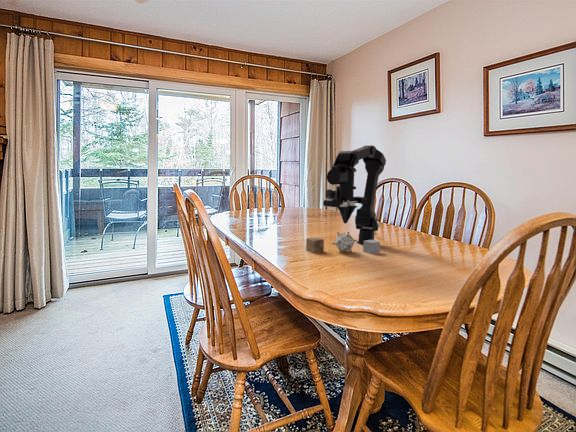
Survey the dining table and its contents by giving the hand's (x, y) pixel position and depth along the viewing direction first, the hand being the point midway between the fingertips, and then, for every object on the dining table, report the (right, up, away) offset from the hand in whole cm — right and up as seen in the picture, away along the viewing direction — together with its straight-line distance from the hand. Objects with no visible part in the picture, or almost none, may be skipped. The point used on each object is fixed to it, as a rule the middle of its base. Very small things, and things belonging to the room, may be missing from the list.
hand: (345, 223), depth 140 cm
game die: (0, -12, +2) cm, 12 cm away
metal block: (-12, -11, +3) cm, 17 cm away
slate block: (+11, -12, +2) cm, 16 cm away
